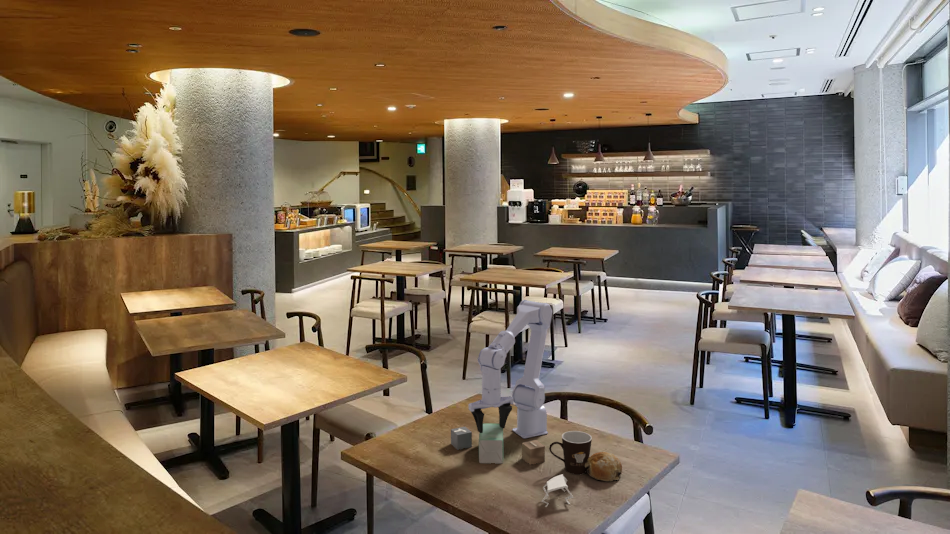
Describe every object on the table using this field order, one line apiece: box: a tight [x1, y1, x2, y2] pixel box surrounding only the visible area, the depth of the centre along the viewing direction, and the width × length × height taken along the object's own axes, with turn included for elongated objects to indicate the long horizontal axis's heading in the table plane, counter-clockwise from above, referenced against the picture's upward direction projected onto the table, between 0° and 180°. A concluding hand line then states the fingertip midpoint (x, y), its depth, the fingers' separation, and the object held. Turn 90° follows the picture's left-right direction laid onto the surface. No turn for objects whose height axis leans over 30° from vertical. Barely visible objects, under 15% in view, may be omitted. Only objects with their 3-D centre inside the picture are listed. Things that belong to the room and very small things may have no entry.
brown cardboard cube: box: [521, 439, 546, 466], centre depth 188 cm, size 5×5×5 cm
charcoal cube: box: [450, 426, 473, 451], centre depth 199 cm, size 5×5×5 cm
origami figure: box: [541, 473, 574, 508], centre depth 166 cm, size 12×8×5 cm
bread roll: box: [585, 451, 623, 482], centre depth 179 cm, size 10×10×8 cm
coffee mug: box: [548, 430, 593, 476], centre depth 182 cm, size 12×9×10 cm
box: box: [478, 422, 504, 465], centre depth 193 cm, size 7×14×8 cm, turn 178°
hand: (491, 429), depth 193 cm, fingers open, 7 cm apart
